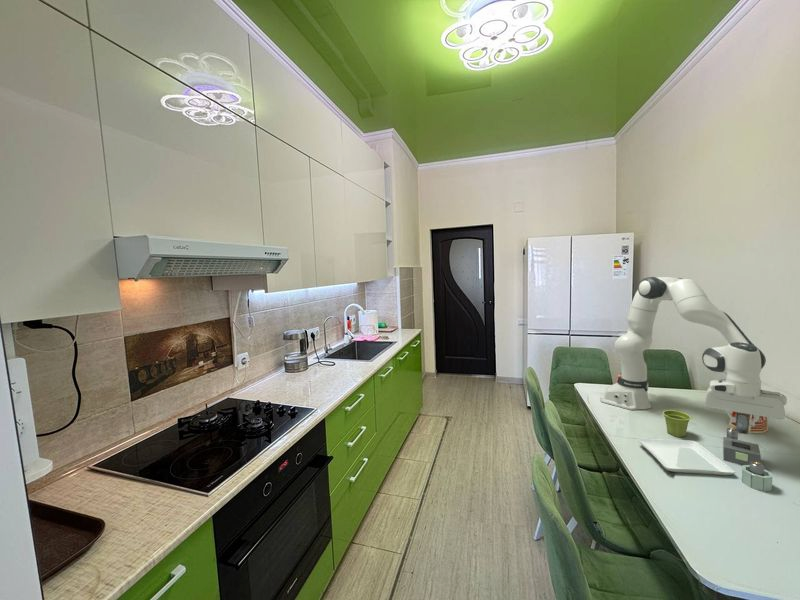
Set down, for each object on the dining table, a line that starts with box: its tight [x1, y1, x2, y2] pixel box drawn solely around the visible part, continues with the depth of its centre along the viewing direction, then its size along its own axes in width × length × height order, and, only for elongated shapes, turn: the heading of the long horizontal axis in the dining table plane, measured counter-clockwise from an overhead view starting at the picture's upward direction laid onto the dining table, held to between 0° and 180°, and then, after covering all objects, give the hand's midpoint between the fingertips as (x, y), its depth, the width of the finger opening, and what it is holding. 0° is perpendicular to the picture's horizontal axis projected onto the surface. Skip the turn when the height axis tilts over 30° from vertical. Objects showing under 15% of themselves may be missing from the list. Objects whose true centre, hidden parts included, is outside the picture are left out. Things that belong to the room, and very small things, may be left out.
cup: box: [741, 465, 773, 492], centre depth 107 cm, size 7×7×5 cm
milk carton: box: [728, 411, 769, 434], centre depth 141 cm, size 9×9×20 cm
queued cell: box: [725, 427, 739, 440], centre depth 129 cm, size 3×3×8 cm
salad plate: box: [637, 438, 736, 476], centre depth 123 cm, size 21×21×3 cm
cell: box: [735, 412, 750, 435], centre depth 119 cm, size 3×3×8 cm
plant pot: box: [662, 409, 692, 438], centre depth 141 cm, size 9×9×9 cm
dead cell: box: [750, 461, 765, 476], centre depth 107 cm, size 3×3×8 cm
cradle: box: [722, 436, 762, 466], centre depth 120 cm, size 9×10×6 cm
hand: (742, 423), depth 119 cm, fingers closed on cell, 3 cm apart
